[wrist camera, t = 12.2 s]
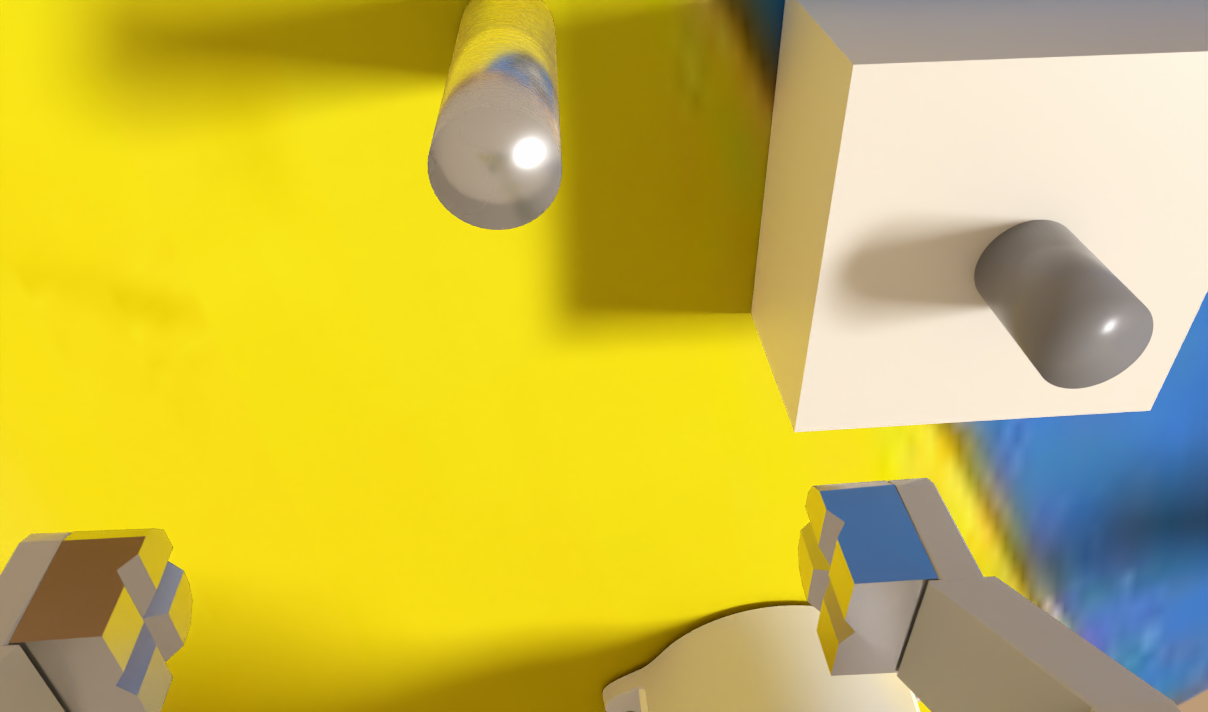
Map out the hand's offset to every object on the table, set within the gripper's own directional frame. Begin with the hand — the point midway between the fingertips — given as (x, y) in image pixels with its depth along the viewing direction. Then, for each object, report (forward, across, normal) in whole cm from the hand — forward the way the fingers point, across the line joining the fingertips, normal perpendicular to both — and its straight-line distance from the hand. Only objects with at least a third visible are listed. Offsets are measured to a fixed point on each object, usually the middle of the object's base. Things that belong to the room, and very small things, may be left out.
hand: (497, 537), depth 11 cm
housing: (+21, -15, +5) cm, 26 cm away
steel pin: (+21, 0, 0) cm, 21 cm away
